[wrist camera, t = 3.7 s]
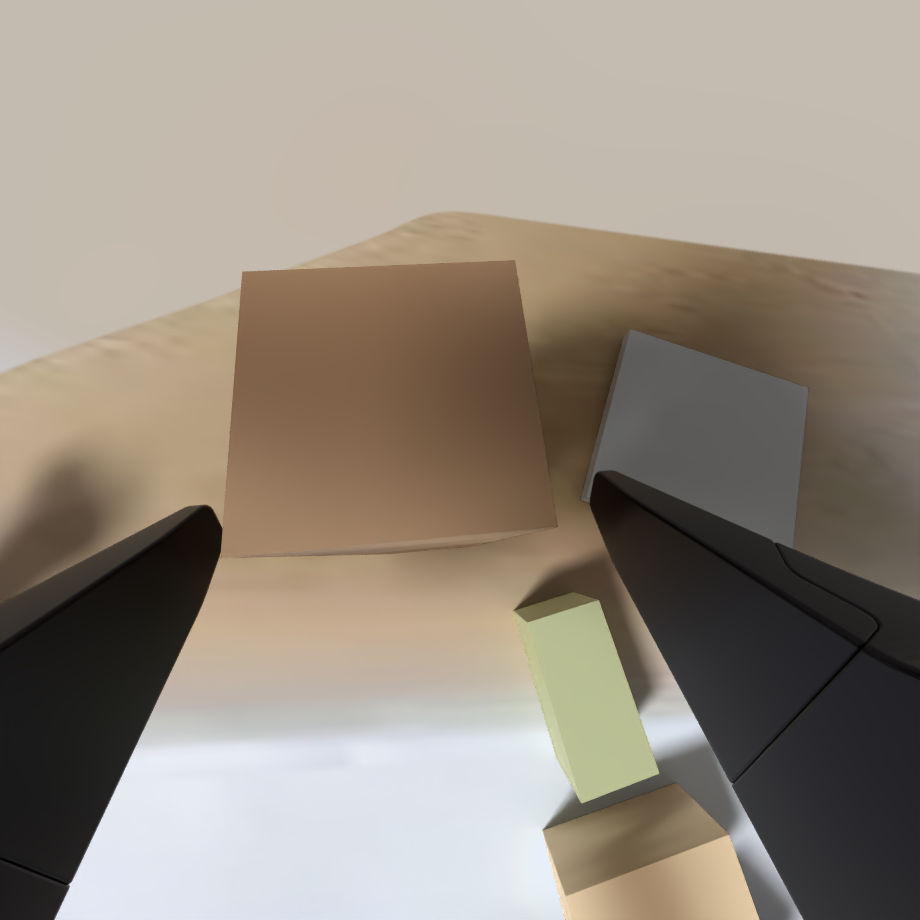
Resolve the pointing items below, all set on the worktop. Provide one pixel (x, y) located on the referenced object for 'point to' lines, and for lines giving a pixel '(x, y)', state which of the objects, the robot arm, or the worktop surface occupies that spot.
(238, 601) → the worktop surface
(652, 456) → the slate coaster
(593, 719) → the olive brick
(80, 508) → the worktop surface
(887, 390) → the worktop surface
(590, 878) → the oak brick
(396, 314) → the tall walnut brick
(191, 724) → the worktop surface
